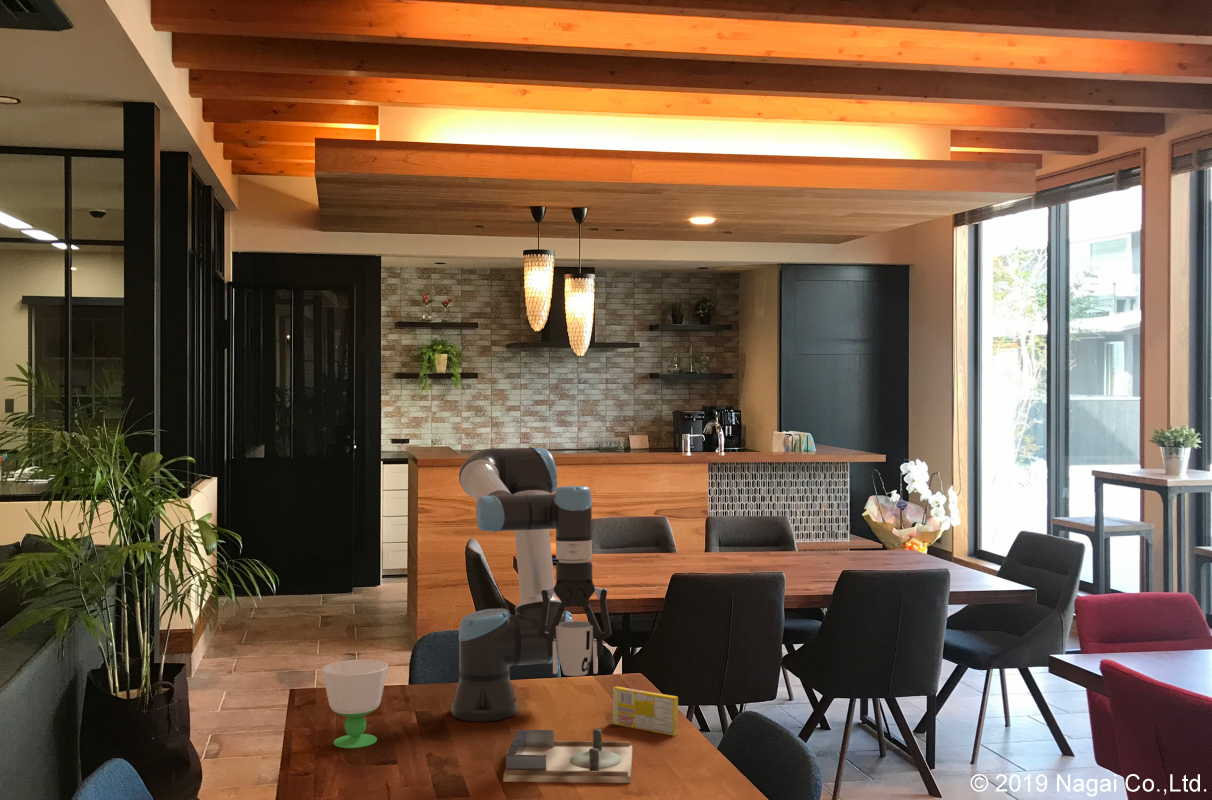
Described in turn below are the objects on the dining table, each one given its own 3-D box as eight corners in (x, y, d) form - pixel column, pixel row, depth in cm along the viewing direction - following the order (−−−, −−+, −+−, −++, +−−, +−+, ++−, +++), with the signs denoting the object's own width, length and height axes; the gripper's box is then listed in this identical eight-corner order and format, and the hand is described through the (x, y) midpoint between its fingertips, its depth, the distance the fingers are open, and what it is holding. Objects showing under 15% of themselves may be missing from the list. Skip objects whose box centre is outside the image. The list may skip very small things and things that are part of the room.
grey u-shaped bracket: (506, 773, 190) (506, 756, 191) (517, 745, 207) (517, 729, 207) (546, 773, 190) (546, 756, 190) (554, 745, 206) (554, 730, 207)
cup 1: (333, 731, 221) (333, 659, 221) (395, 731, 220) (395, 659, 221) (313, 752, 207) (313, 674, 207) (379, 752, 207) (379, 675, 207)
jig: (503, 781, 190) (503, 753, 190) (516, 750, 208) (516, 724, 208) (630, 783, 189) (630, 755, 189) (632, 751, 207) (632, 725, 207)
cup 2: (590, 678, 203) (589, 628, 203) (551, 677, 204) (550, 627, 205) (598, 669, 211) (598, 621, 211) (561, 668, 212) (560, 620, 213)
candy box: (679, 734, 218) (678, 696, 218) (674, 737, 216) (673, 698, 216) (617, 722, 227) (617, 685, 227) (611, 724, 225) (611, 687, 226)
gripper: (522, 563, 205) (523, 676, 204) (622, 562, 204) (624, 676, 203) (527, 559, 213) (528, 668, 212) (624, 558, 212) (625, 668, 211)
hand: (575, 672), depth 207 cm, fingers closed on cup 2, 8 cm apart
